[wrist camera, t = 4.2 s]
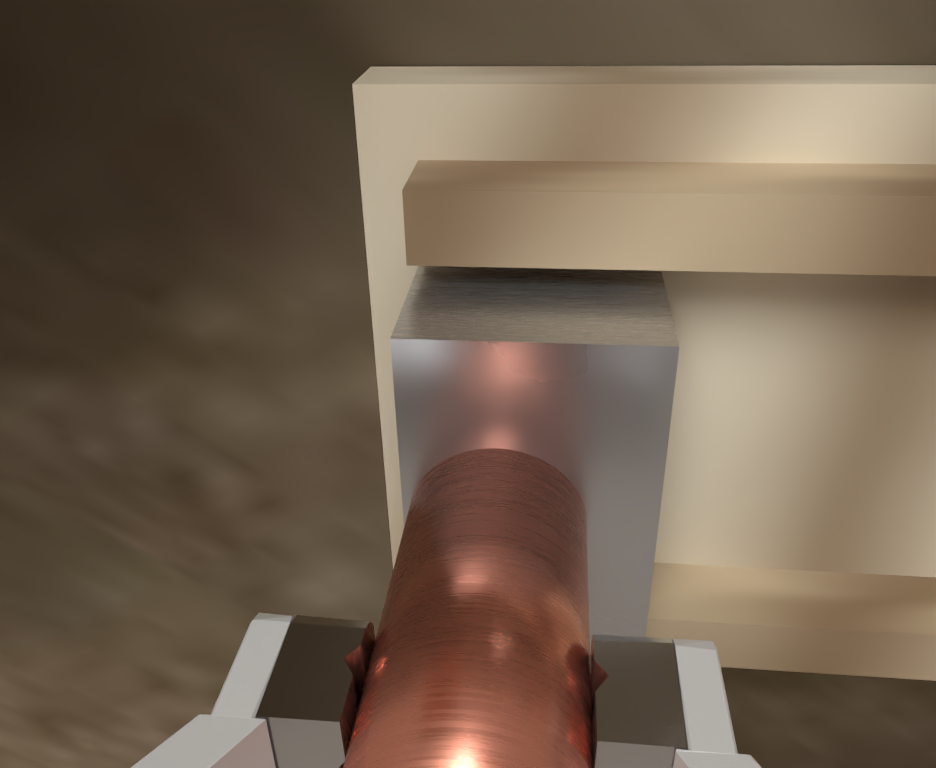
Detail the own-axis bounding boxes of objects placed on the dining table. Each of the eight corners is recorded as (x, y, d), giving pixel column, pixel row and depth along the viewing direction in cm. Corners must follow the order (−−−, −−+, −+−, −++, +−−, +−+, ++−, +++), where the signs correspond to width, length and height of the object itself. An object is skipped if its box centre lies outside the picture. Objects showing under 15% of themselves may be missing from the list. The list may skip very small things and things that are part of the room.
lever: (659, 262, 14) (780, 771, 6) (630, 556, 18) (684, 1145, 9) (421, 258, 15) (237, 730, 7) (435, 546, 18) (325, 1103, 10)
